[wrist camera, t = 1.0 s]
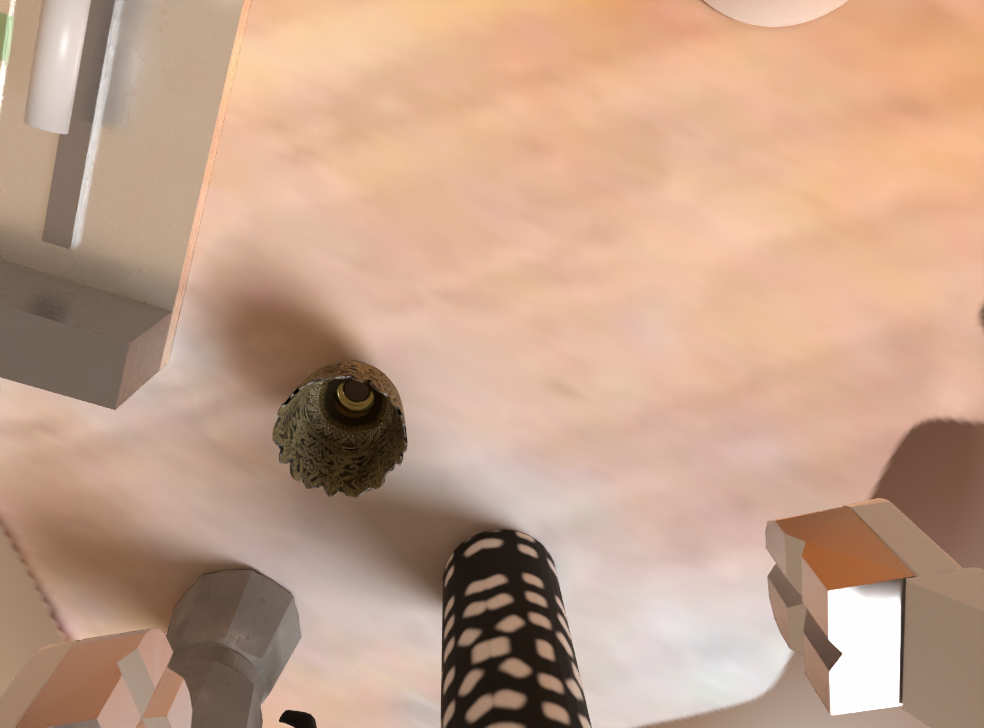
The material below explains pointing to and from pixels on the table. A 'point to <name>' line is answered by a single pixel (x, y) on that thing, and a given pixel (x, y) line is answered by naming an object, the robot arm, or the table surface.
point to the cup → (342, 430)
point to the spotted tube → (507, 638)
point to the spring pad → (56, 64)
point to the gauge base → (109, 191)
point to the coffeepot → (234, 647)
